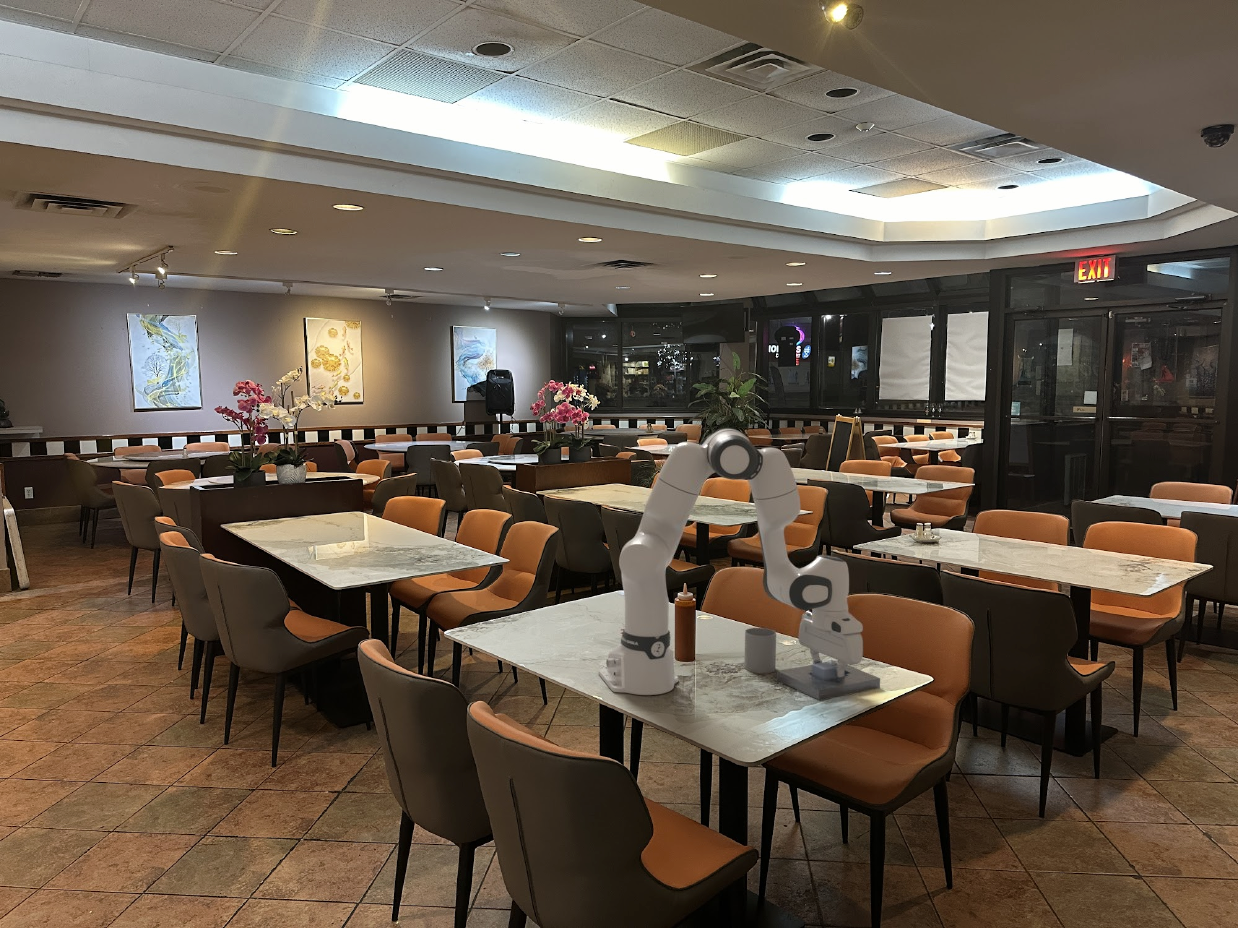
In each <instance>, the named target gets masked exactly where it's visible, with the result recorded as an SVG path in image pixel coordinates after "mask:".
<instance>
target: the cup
mask: <svg viewBox="0 0 1238 928" xmlns="http://www.w3.org/2000/svg"><path fill="white" fill-rule="evenodd" d="M776 651H777V631H776V630H774V629H771V628H765V627H750V628H747V629H745V631H744V658H743V659H744V660H743V661H744V666H743V667H744V669H745V670H746V671H748V672H751V673H756V674H769V673H773V672H775V671H776V659H777V657H776V656H777V655H776V654H777V653H776Z"/></svg>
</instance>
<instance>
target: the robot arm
mask: <svg viewBox="0 0 1238 928" xmlns="http://www.w3.org/2000/svg"><path fill="white" fill-rule="evenodd" d="M714 473H716V474H717V475H718V476H720V477H721V478H723V479H728V480H730V481H731V480H732V481H736V480H738V481H740V480H741V481H743V480H744V481H745V480H747V482H748V485H749V487H750V491H751V495H752V498H753V503H754V507H755V512H756V515H757V516H756V518H757V519H756V520H757V531H758V536H759V541H760V548H761V552H762V558H763V559H762V560H763V576H762V577H763V578H762V585H763V589H764V592H765V593H766V595H767V596H768V597H769V598H771V599H772V600H774V601H777V602H780V603H783V604H786V605H787V606H790V607H793V608H794V609H798V610H801V611H804V612H803V613H802V614H801V615H802V616H801V620H800V623H799V631H798V637H797V638H798V642H799V645H800V646H803V647H805V648H808V649H809V650H810V651H809V653H810V655H811V659H812V660H813V661H812V664H817V663H823V660H822V659H821V658H820V654H822V655H825V656H826V657H830V658H831V659H836V660H838V664H839V666H838V669H835V676H837V677H843V676H844V670H845V668H846V666H847V665H849V666H852V665H857V664H860V663H861V662H862V660H863V656H864V649H863V648H864V646H863V645H864V643H863V642H864V641H863V636H862V634H861V632H863V629H864V628H863V627H864V626H863V624H862V623H861V621H859V620H857V618H855V616H853V615H852V614H851V613H850V612H849V605H848V595H849V592H850V573H849V567H848V564H847V562H846V561H845V560H844V559H841V558H839V557H837V556H832V555H828V554H819V555H817V556H816V558H815V559H814V560H813V561H811V562H810V563H809V564H807V565H806V566H804V567H801V568H799V567H796V566H795V565H794V564H793V563H792V562H791V561H790V559H789V557H788V552H787V545H786V539H785V534H784V533H785V528H786V527H787V526H788V525H791V524H792V523H794V522H795V520H796V519H797V517H798V516H799V515H800V512H801V498H800V494H799V493H800V492H799V489H798V486H797V483H796V482H797V481H796V479H795V475H794V472H793V470H792V468H791V465H790V462H789V460H788V459H787V457H786V455H785V453H784V452H783V451H782V450H780V449H778V448H777V447H762V448H761V449H760V448H759V449H758V448H757V447H756V446H754V445H753V443H752V442H751V441H750V439H749V438H748V437H747V436H746V435H745V434H744V433H743V432H741V431H739V430H738V429H735V428H734V427H728V426H727V427H721V428H718V429H716V430H714V431H712V433H710V434H709V435H708V436H706V437H705V438H704V439H702V440H701V441H700V442H699V443H695V442H693V441H692V442H691V441H682V442H679V443H678V444H677V445H675V446H674V448H673V449H672V451H671V452H670V454H669V455H668V457H667V458H666V460H665V462H664V464H663V466H662V467H661V469H660V470H659V473H658V476H657V477H656V480H655V482H654V485H653V487H652V489H651V492H650V494H649V496H648V499H647V501H646V503H645V506H644V512H643V514H642V517H641V520H640V524H639V525H638V529H637V530H636V533H635V534H634V535H635V536H634V537H633V538H632V539H630V540H628V541H627V542H626V543H625V544H624V546H623V547H622V549H621V552H620V555H619V560H618V562H619V563H618V564H619V565H618V566H619V569H620V572H621V573H620V574H621V582H622V589H623V594H624V628H623V629H620V631H621V632H620V634H621V639H620V643H619V644H618V645H617V646H615V647H614V648H613V649H612V650H611V651H610V652H609V653H608V656H607V659H606V663H605V664H606V666H605V667H603V668H600V669H598V675H599V676H600V678H601V679H602V680H603V682H605V684H606V685H607V686H608V687H609V689H610V690H611V691H612V692H614V693H627V694H632V695H639V696H652V695H662V694H666V693H668V692H670V691H672V690H673V689H674V687H675V684H677V683H678V682H679V676H677V675H675V674H676V673H675V660H674V659H675V658H674V651H673V650H672V649H671V648H670V646H671V632H670V631H671V630H669V622H670V621H669V618H670V617H669V613H670V601H669V600H670V599H669V597H668V591H667V581H666V569H667V567H669V565H670V564H671V562H672V561H673V559H674V557H675V556H674V555H675V553H676V551H677V549H678V546H679V544H680V541H681V539H682V537H683V533H684V531H685V527H686V525H687V523H688V520H689V519H690V515H691V513H692V511H693V508H694V506H695V504H696V502H697V500H698V497H699V496H700V495H699V494H700V493H701V491H702V488H703V486H704V483H705V482H706V481H707V479H708V478H709V477H710V476H712V474H714ZM810 610H812V612H811V611H810ZM819 653H820V654H819Z"/></svg>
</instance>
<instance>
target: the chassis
mask: <svg viewBox="0 0 1238 928" xmlns="http://www.w3.org/2000/svg"><path fill="white" fill-rule="evenodd" d="M776 680H777V681H778V682H780V683H782V684H783V685H784V684H785V685H786V686H789V687H790V688H793V689H795V690H797V692H798V691H799V692H801V693H802V694H805V695H807V696H809V697H811V698H813V699H815V700H817V701H822V700H829V699H833V698H837V697H841V696H847V695H852V694H857V693H862V692H866V691H871V690H876V689H880V688H881V677H878V676H875V675H873V674H870V673H868V672H866V671H863V670H860V669H858V668H856V667H855V666H854V667H853V666H852V665H849V664H848V665H847V666H846V668H845V677H840V678H834V679H829V680H824V681H823V680H821V679H819V678H817V677H814V676H812V664H809V665H803V666H796V667H791V668H786V669H785V668H784V669H779V670H777V674H776Z"/></svg>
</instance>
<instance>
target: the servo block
mask: <svg viewBox="0 0 1238 928" xmlns="http://www.w3.org/2000/svg"><path fill="white" fill-rule="evenodd" d="M811 665H812V676H814V677H817V678H819V679H821V680H823V681H824V680H829V679H834V678H840V677H837V676H835V669H838V666H839V664H838V660H837V659H834V658H831V660H829V661H824V662H823V661H822V663H817V664H813V663H812V664H811ZM843 677H845V670H844V676H843Z"/></svg>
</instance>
